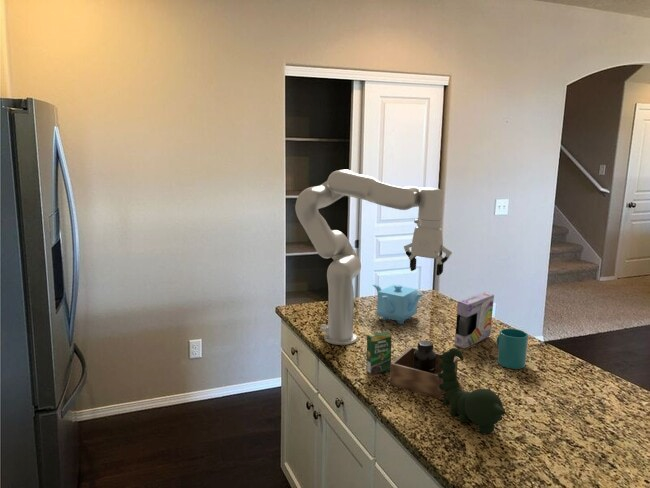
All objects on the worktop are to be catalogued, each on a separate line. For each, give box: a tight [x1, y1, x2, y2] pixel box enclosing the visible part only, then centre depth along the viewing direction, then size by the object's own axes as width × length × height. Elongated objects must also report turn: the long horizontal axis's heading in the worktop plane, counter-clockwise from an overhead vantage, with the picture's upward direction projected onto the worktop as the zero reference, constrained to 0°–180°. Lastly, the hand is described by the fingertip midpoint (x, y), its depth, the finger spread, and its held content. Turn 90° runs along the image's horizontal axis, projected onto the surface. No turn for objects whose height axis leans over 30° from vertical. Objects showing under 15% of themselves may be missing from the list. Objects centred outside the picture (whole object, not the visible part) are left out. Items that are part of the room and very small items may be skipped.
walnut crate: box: [389, 346, 459, 399], centre depth 159 cm, size 16×16×7 cm
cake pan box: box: [454, 291, 495, 349], centre depth 192 cm, size 19×5×18 cm, turn 131°
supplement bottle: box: [413, 339, 436, 374], centre depth 159 cm, size 7×7×12 cm
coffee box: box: [366, 330, 392, 376], centre depth 166 cm, size 8×3×13 cm, turn 115°
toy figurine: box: [438, 347, 506, 435], centre depth 136 cm, size 9×19×25 cm
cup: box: [496, 328, 529, 370], centre depth 174 cm, size 9×12×11 cm
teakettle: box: [372, 284, 426, 325], centre depth 216 cm, size 19×19×15 cm
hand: (425, 272), depth 177 cm, fingers open, 9 cm apart
